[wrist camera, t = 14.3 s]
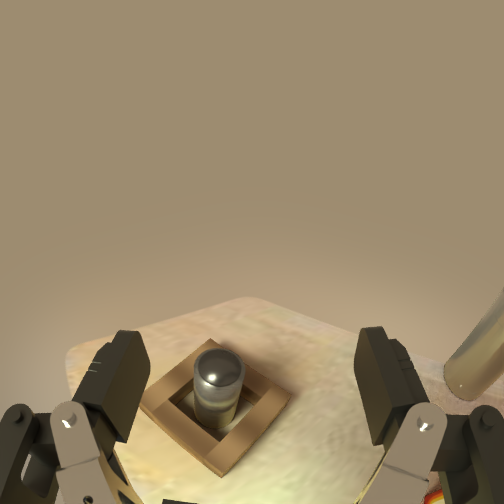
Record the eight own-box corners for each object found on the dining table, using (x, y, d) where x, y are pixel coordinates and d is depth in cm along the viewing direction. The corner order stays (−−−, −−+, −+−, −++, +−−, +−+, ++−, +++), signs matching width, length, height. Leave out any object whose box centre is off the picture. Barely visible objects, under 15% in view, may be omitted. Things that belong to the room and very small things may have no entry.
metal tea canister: (212, 386, 36) (217, 338, 30) (242, 409, 34) (256, 365, 28) (185, 410, 33) (182, 366, 27) (216, 436, 31) (223, 398, 25)
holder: (209, 351, 40) (210, 338, 39) (285, 405, 35) (291, 394, 33) (140, 408, 32) (136, 397, 30) (221, 478, 26) (223, 472, 25)
